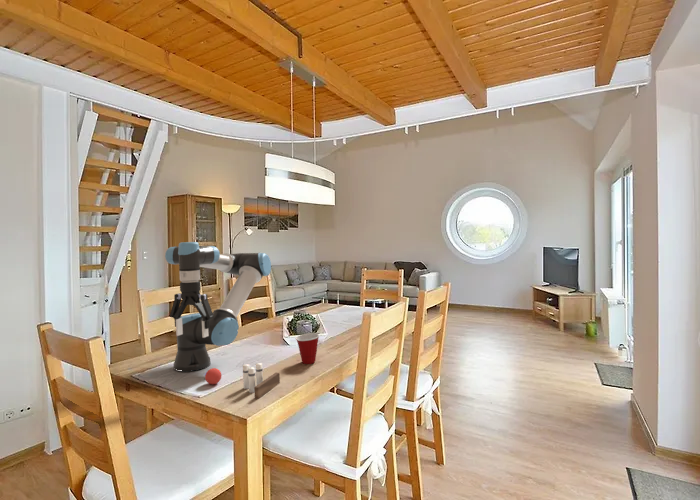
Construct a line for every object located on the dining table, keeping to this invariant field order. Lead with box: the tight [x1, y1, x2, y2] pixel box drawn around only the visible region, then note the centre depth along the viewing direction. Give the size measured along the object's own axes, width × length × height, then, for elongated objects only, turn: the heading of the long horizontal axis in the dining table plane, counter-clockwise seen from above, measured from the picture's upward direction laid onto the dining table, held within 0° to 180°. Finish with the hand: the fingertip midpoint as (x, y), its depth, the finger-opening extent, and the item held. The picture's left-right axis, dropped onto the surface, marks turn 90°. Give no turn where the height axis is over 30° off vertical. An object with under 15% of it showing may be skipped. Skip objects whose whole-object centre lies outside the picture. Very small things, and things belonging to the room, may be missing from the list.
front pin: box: [242, 363, 250, 390], centre depth 147 cm, size 2×2×9 cm
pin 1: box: [248, 366, 256, 394], centre depth 143 cm, size 2×2×9 cm
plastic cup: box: [295, 332, 320, 365], centre depth 175 cm, size 11×11×12 cm
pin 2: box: [255, 362, 264, 386], centre depth 148 cm, size 2×2×9 cm
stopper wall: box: [254, 372, 281, 400], centre depth 144 cm, size 2×15×4 cm, turn 161°
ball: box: [204, 367, 222, 385], centre depth 152 cm, size 6×6×6 cm
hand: (192, 335), depth 154 cm, fingers open, 12 cm apart
